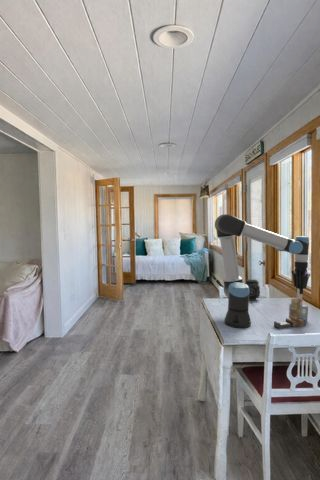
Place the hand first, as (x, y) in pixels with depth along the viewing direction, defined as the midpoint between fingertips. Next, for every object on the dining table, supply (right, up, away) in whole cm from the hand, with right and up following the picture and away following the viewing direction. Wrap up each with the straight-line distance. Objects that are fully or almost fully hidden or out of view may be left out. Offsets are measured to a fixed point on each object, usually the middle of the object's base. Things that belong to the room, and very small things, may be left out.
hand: (299, 298), depth 194 cm
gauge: (0, -7, 0) cm, 7 cm away
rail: (-11, -14, -12) cm, 21 cm away
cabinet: (0, -13, +1) cm, 13 cm away
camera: (-15, -10, +48) cm, 51 cm away
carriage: (-7, -14, -10) cm, 19 cm away
